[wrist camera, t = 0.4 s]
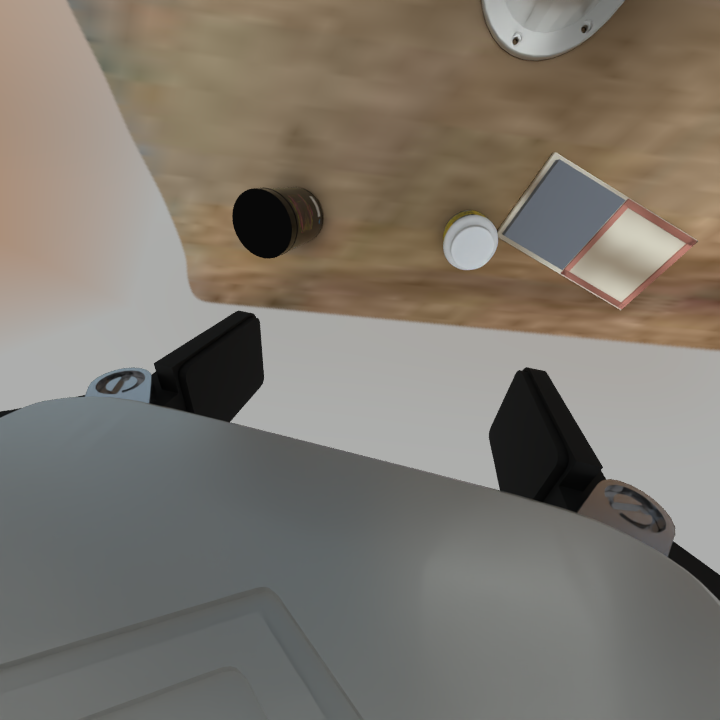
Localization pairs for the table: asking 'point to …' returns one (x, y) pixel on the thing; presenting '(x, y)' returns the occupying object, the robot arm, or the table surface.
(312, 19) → the table surface
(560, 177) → the ink pad
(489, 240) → the supplement bottle
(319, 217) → the supplement container
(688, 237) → the stamping board
